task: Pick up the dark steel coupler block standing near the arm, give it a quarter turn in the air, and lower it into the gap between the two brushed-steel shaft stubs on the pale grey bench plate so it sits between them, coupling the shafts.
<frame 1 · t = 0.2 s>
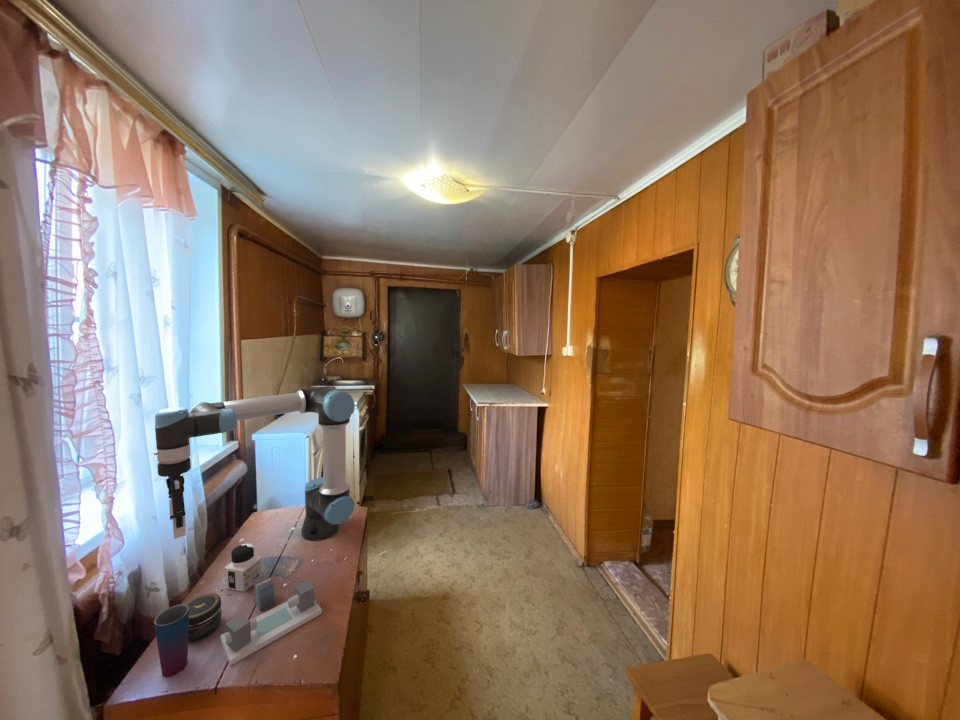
hand: (177, 527, 108), 28 cm above the table, fingers open, 13 cm apart
jar: (201, 629, 104), on the table
container: (244, 583, 123), on the table
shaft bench: (273, 626, 105), on the table
cup: (175, 668, 92), on the table
coupler: (264, 602, 114), on the table
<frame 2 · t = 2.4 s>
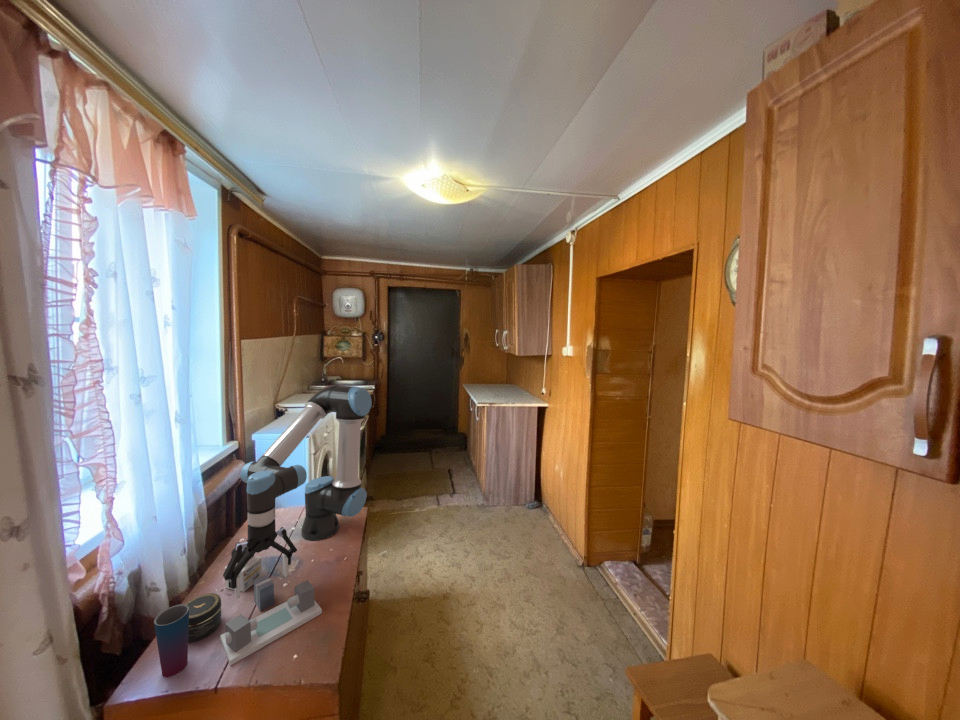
hand: (262, 585, 113), 6 cm above the table, fingers open, 13 cm apart
nothing on the table moved.
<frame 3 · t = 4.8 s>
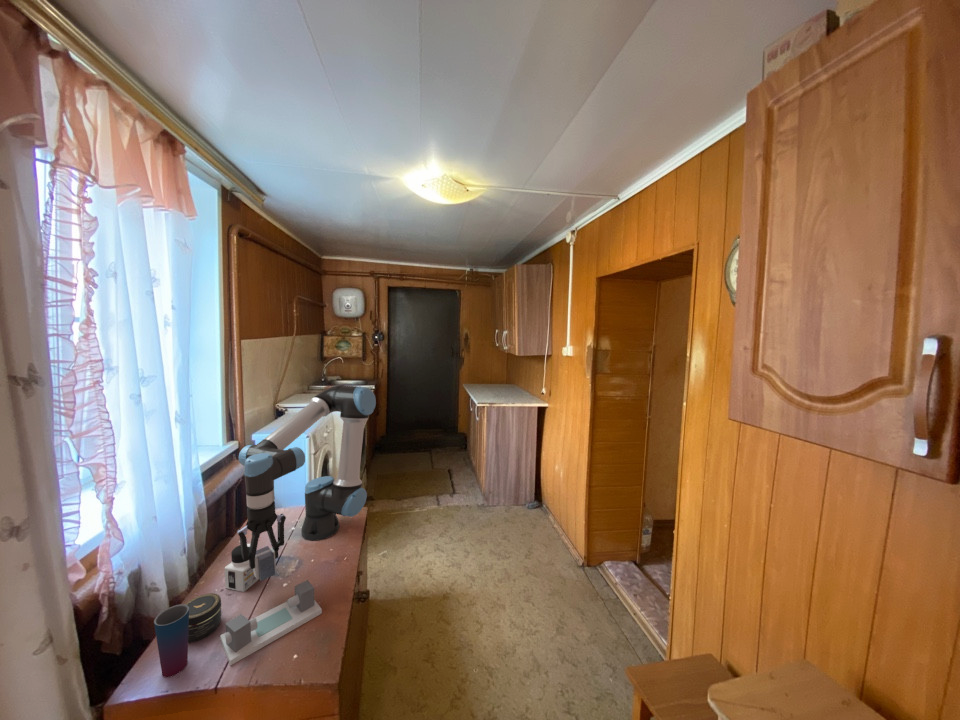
hand: (264, 571, 114), 10 cm above the table, fingers closed on coupler, 4 cm apart
coupler: (265, 573, 114), point 10 cm above the table, touching gripper
everything else where it was.
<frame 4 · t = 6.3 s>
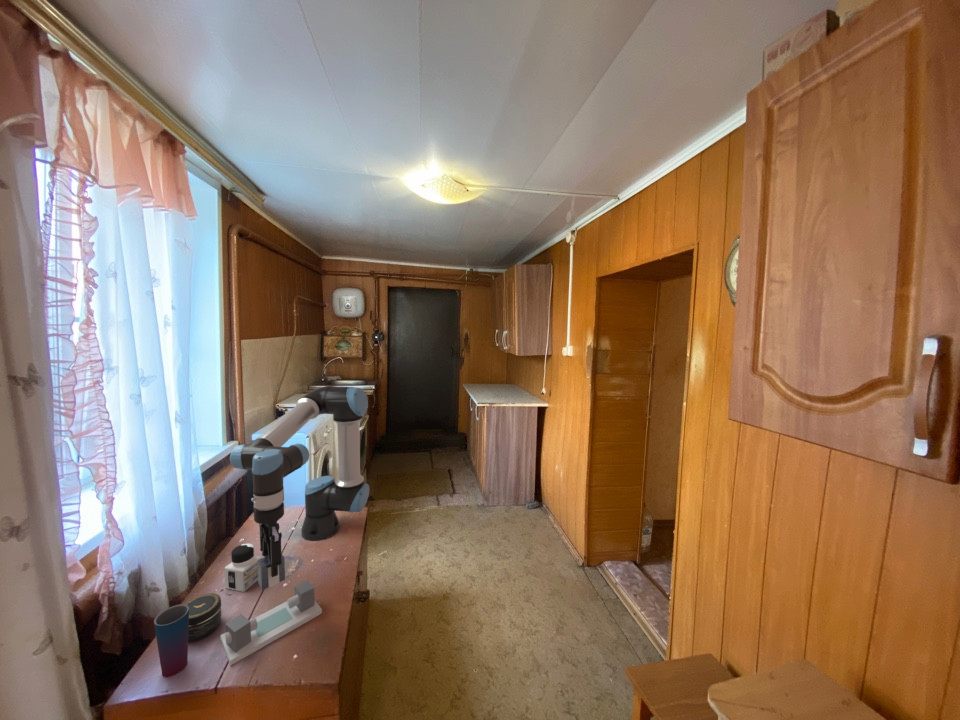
hand: (271, 580, 104), 15 cm above the table, fingers closed on coupler, 4 cm apart
coupler: (271, 581, 104), point 14 cm above the table, touching gripper
everything else where it was.
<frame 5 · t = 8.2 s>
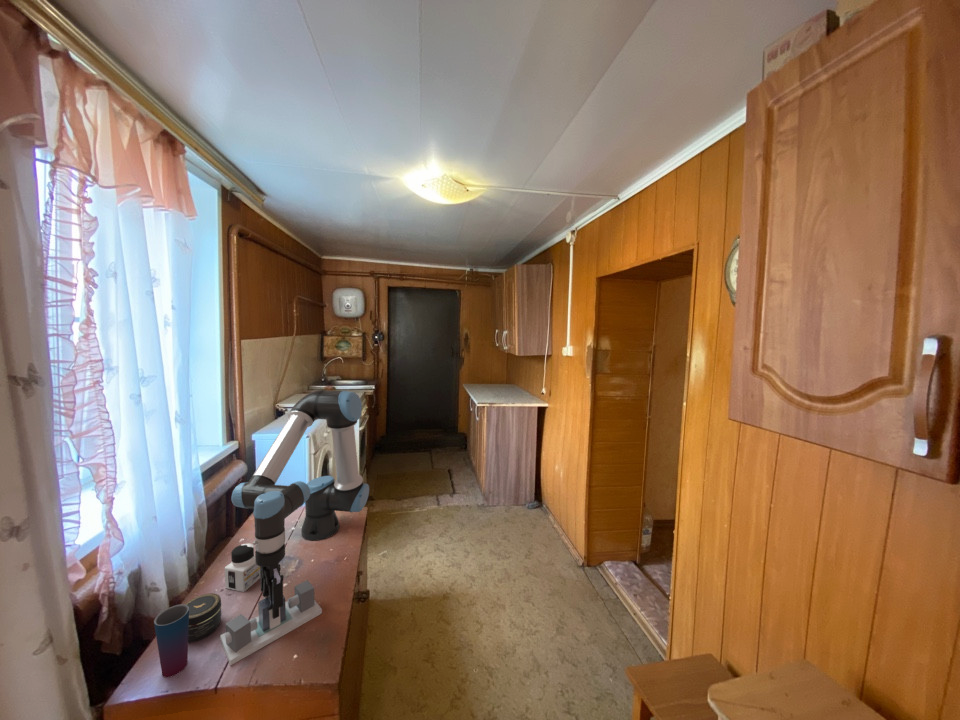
hand: (272, 621, 105), 2 cm above the table, fingers closed on coupler, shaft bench, 4 cm apart
coupler: (272, 621, 105), point 2 cm above the table, touching gripper, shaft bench
everything else where it was.
when the fingers open (2 cm above the table, at t = 8.5 s): coupler stays where it is, resting on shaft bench.
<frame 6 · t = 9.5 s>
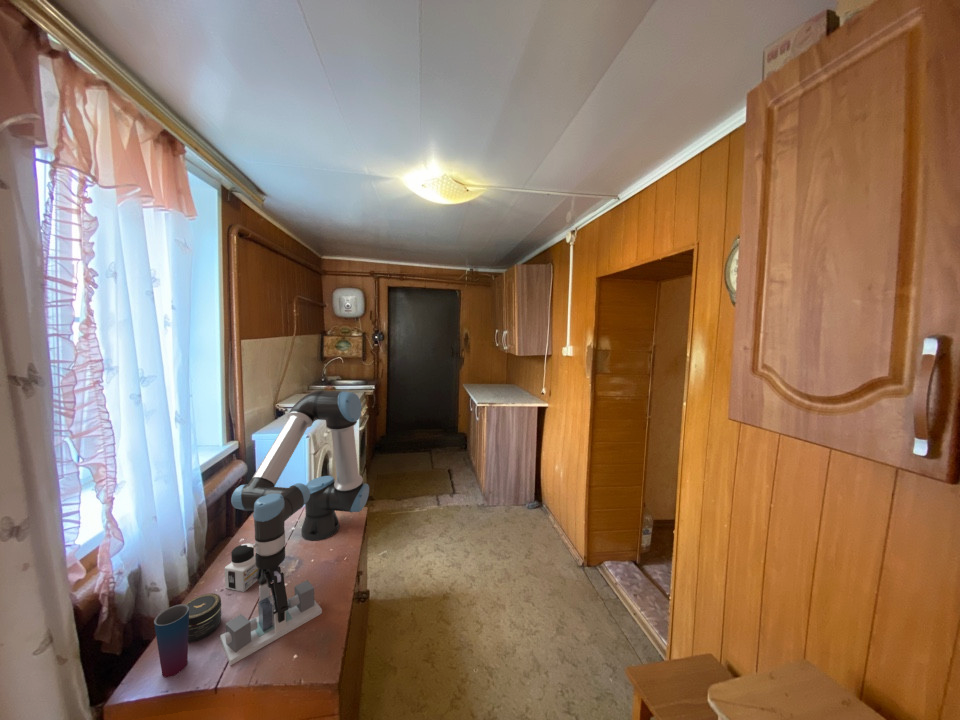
hand: (272, 616, 105), 3 cm above the table, fingers open, 13 cm apart
coupler: (272, 621, 105), point 2 cm above the table, touching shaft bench
everything else where it was.
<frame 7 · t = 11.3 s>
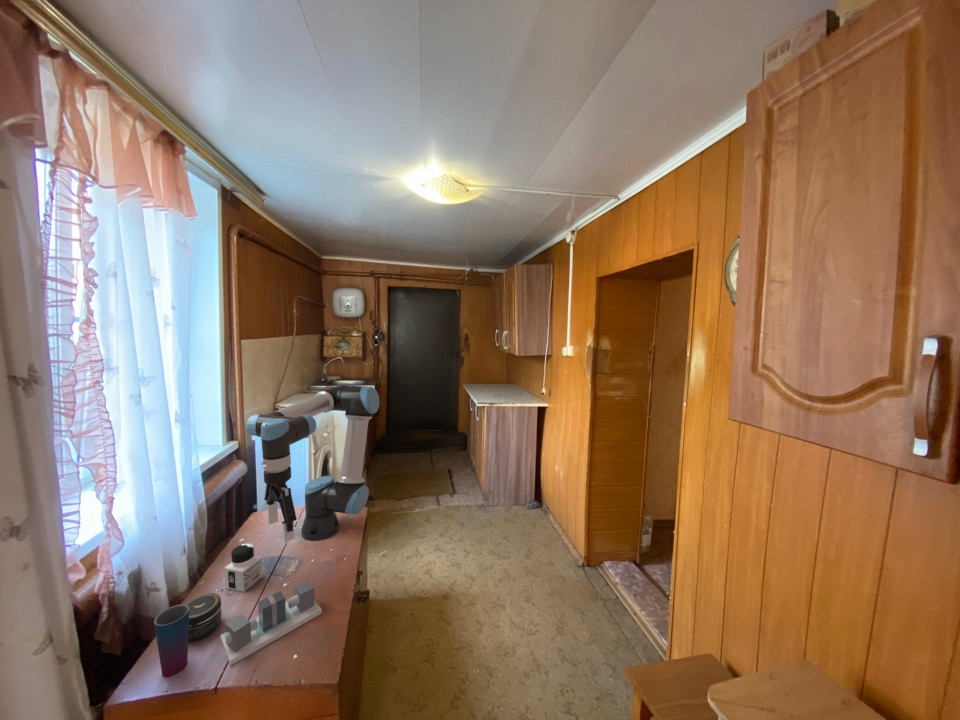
hand: (281, 531, 114), 23 cm above the table, fingers open, 13 cm apart
nothing on the table moved.
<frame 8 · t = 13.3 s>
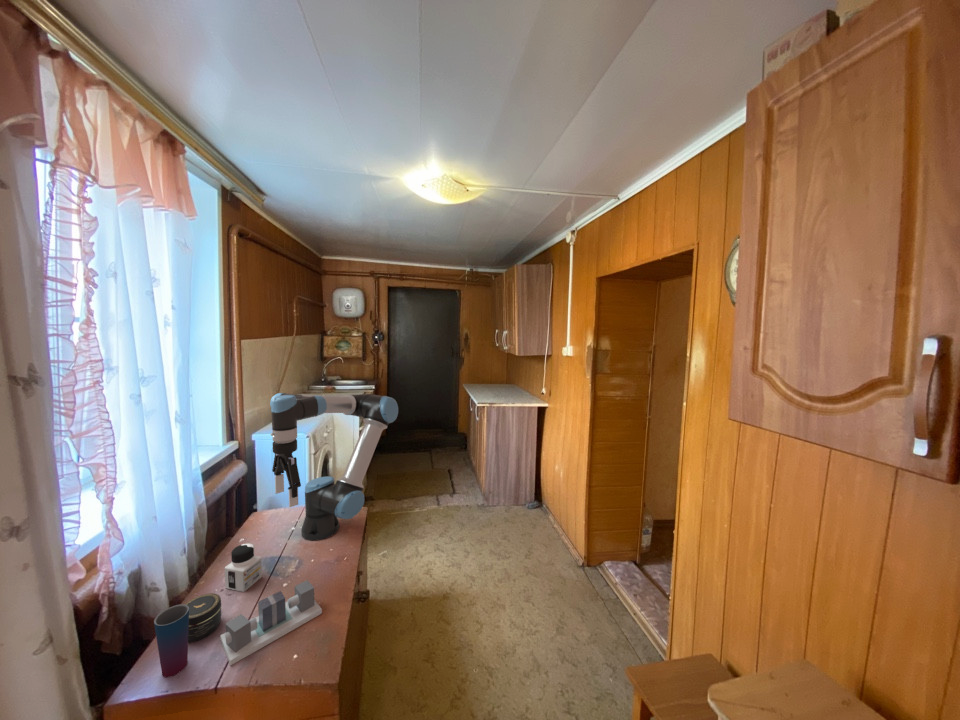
hand: (286, 498, 124), 29 cm above the table, fingers open, 13 cm apart
nothing on the table moved.
at the end: coupler 0.2 cm off-centre on the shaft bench, point 1.6 cm above the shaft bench's base; coupler tilted 0°; the gripper is holding nothing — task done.
